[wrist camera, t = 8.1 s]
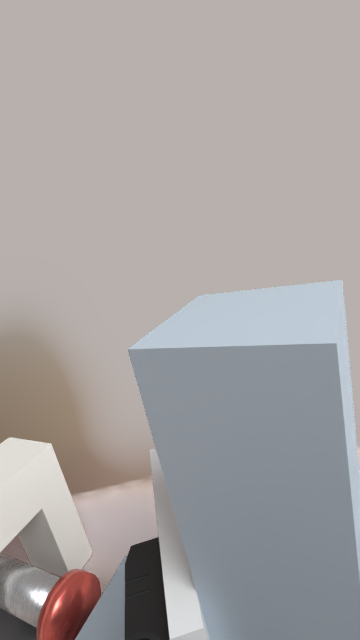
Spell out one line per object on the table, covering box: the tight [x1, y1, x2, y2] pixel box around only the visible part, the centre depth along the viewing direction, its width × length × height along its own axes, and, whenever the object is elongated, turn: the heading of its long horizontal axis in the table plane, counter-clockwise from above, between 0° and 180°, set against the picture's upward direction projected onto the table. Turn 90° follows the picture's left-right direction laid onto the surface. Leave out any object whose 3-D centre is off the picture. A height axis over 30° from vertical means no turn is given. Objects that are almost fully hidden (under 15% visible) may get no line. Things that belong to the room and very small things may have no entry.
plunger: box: [0, 552, 101, 640], centre depth 18 cm, size 9×3×3 cm, turn 64°
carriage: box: [75, 280, 360, 640], centre depth 11 cm, size 11×5×18 cm, turn 64°
